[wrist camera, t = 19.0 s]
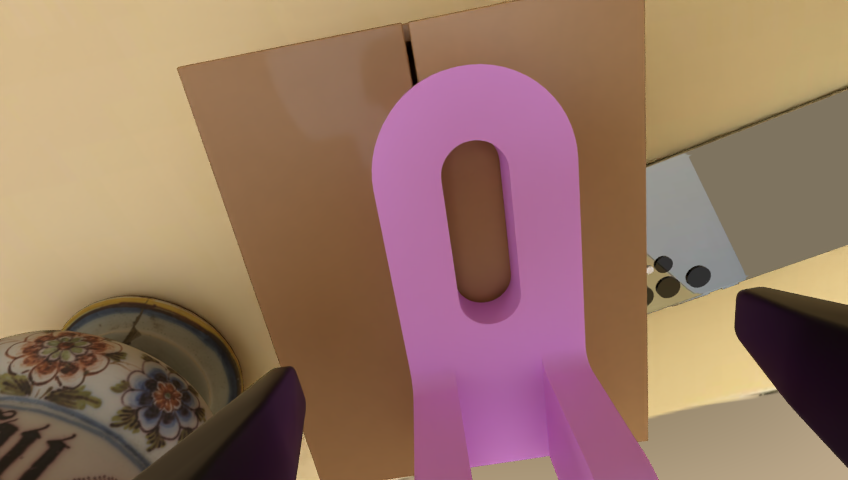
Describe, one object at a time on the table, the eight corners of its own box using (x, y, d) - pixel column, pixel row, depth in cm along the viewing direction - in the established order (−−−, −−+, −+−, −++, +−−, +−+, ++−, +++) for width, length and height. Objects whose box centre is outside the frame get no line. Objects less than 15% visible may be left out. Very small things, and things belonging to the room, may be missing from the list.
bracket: (575, 420, 17) (683, 642, 10) (429, 442, 17) (442, 674, 10) (556, 50, 12) (726, 15, 6) (358, 84, 12) (299, 88, 6)
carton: (562, 11, 18) (648, -30, 12) (583, 337, 24) (650, 441, 17) (260, 70, 19) (172, 65, 12) (348, 375, 24) (321, 490, 18)
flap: (638, -23, 12) (645, -27, 12) (644, 433, 17) (648, 441, 17) (407, 23, 12) (407, 22, 12) (482, 454, 18) (484, 462, 17)
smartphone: (951, 210, 21) (626, 326, 23) (938, 207, 22) (621, 320, 23) (951, 49, 19) (588, 192, 20) (937, 50, 19) (583, 189, 21)
